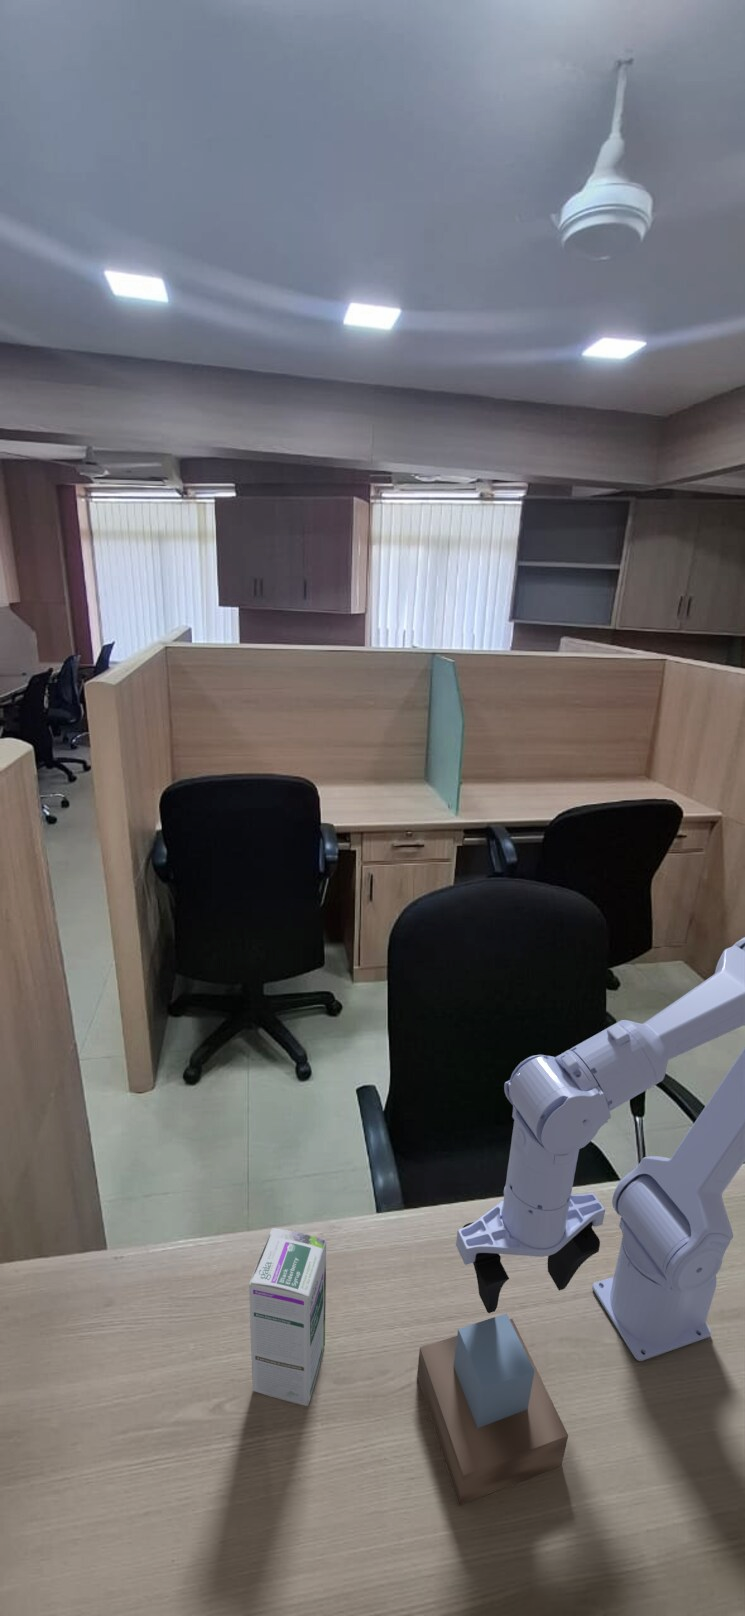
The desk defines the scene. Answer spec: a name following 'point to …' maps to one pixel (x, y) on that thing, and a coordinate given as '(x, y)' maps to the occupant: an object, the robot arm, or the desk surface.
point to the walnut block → (487, 1429)
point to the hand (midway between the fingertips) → (522, 1290)
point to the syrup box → (288, 1315)
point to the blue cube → (493, 1370)
